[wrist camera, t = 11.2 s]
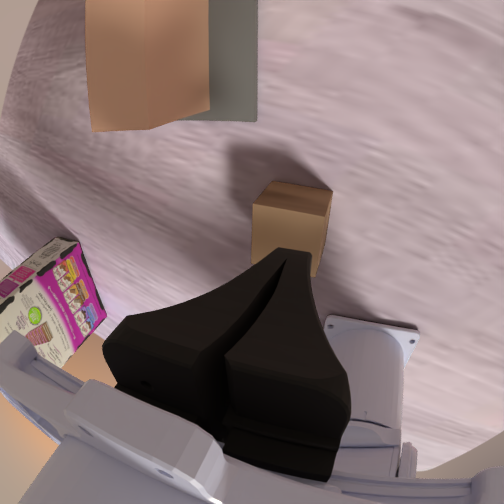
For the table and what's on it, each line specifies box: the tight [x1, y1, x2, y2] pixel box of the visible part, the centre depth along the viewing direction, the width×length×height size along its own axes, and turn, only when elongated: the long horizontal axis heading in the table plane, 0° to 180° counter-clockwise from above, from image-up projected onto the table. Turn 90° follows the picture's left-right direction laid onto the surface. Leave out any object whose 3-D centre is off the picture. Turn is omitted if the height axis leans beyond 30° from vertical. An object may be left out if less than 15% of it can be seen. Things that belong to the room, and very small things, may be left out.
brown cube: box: [251, 181, 333, 277], centre depth 20 cm, size 4×4×4 cm
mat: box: [179, 0, 258, 122], centre depth 17 cm, size 12×10×1 cm
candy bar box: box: [0, 237, 107, 368], centre depth 28 cm, size 11×5×16 cm, turn 3°
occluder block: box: [85, 0, 210, 132], centre depth 14 cm, size 10×4×6 cm, turn 0°
